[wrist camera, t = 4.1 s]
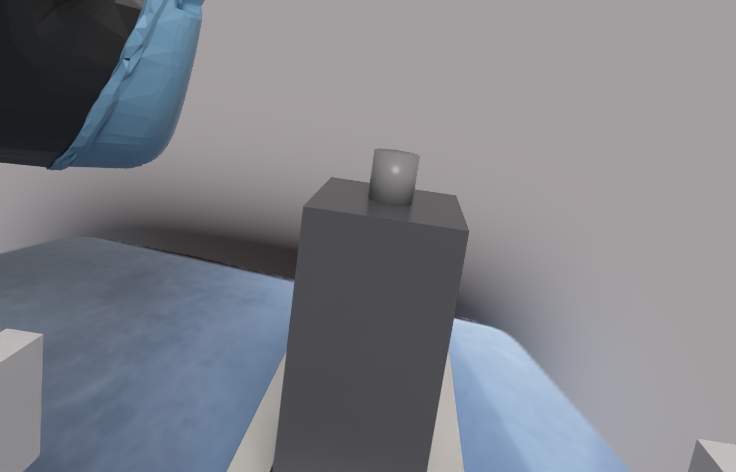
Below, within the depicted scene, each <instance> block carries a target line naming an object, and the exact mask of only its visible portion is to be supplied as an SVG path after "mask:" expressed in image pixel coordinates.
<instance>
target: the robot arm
mask: <svg viewBox="0 0 736 472" xmlns="http://www.w3.org/2000/svg"><path fill="white" fill-rule="evenodd" d="M203 2H204V0H0V162H1V163H11V164H20V165H31V166H40V167H46V168H47V169H49V170H63V169H66V168H68V167H100V168H134V167H138V166H142V164H146V163H148V162H151V161H152V160H154V159H156V158H157V157H158V156H159V155H160V154H161V153H162V152H163V151H164V150H165V148H166V147H167V146H168V144H169V141H170V140H171V138H172V136H173V134H174V131H175V129H176V126H177V123H178V120H179V117H180V114H181V110H182V106H183V103H184V100H185V96H186V92H187V88H188V84H189V80H190V76H191V71H192V67H193V62H194V58H195V53H196V48H197V44H198V39H199V33H200V28H201V22H202V10H201V5H202V4H203ZM42 360H43V334H38V333H32V332H26V331H20V330H13V329H5V330H3V331H1V332H0V472H23V471H24V470H25V469H27V468H28V467H29V466H30V465H31V464H32V463H33V462H34V461H35V460H36V459H37V458H38V457H39V456H40V435H41V398H42ZM688 472H736V445H732V444H726V443H720V442H713V441H708V440H701V439H697V441H696V445H695V449H694V452H693V456H692V460H691V463H690V467H689V470H688Z"/></svg>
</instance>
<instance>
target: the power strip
mask: <svg viewBox="0 0 736 472" xmlns="http://www.w3.org/2000/svg"><path fill="white" fill-rule="evenodd" d="M286 352H287V351H286ZM285 360H286V353H285V355H284V357H283V359H282V361H281V363H280V365H279V367H278V369H277V371H276V373H275V375H274V377H273V379H272V381H271V383H270V385H269V387H268V389H267V391H266V393H265V395H264V397H263V399H262V401H261V403H260V405H259V407H258V409H257V411H256V413H255V415H254V417H253V419H252V421H251V423H250V425H249V428H248V430H247V432H246V434H245V436H244V438H243V440H242V442H241V444H240V446H239V448H238V450H237V452H236V454H235V456H234V458H233V460H232V462H231V464H230V466H229V468H228V470H227V472H273V463H274V455H275V446H276V437H277V429H278V420H279V412H280V403H281V394H282V386H283V377H284V369H285ZM427 472H464V469H463V461H462V453H461V444H460V436H459V428H458V420H457V412H456V404H455V396H454V388H453V380H452V372H451V364H450V356H449V349H448V354H447V360H446V366H445V371H444V377H443V383H442V388H441V394H440V400H439V405H438V411H437V417H436V422H435V428H434V434H433V439H432V445H431V451H430V457H429V462H428V468H427Z"/></svg>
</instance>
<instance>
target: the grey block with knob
mask: <svg viewBox="0 0 736 472" xmlns="http://www.w3.org/2000/svg"><path fill="white" fill-rule="evenodd" d="M419 157H420V156H419V155H417V154H414V153H409V152H404V151H398V150H390V149H375V150H374V158H373V165H372V172H371V179H370V183H366V182H359V181H353V180H346V179H339V178H332V177H331V178H330V179H329V180H328V181H327V182H326V183H325V184H324V186H323V187H321V189H320V190H319V191H318V192H317V193H316V194H315V195H314V196H313V197H312V198H311V199H310V200H309V201H308V202H307V203H306V204H305V205H304V206H303V214H302V223H301V231H300V240H299V248H298V257H297V266H296V274H295V283H294V291H293V300H292V309H291V317H290V326H289V334H288V343H287V352H286V360H285V369H284V377H283V386H282V394H281V403H280V412H279V420H278V429H277V437H276V446H275V455H274V463H273V472H427V468H428V462H429V457H430V451H431V445H432V439H433V434H434V428H435V422H436V417H437V411H438V405H439V400H440V394H441V388H442V383H443V377H444V371H445V366H446V360H447V354H448V349H449V343H450V337H451V331H452V326H453V320H454V314H455V309H456V303H457V297H458V291H459V286H460V280H461V275H462V269H463V263H464V257H465V252H466V246H467V241H468V235H469V229H468V226H467V224H466V221H465V218H464V216H463V213H462V211H461V208H460V205H459V202H458V200H457V197H456V196H455V195H448V194H442V193H435V192H428V191H420V190H414V189H415V183H416V176H417V170H418V163H419Z"/></svg>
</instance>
